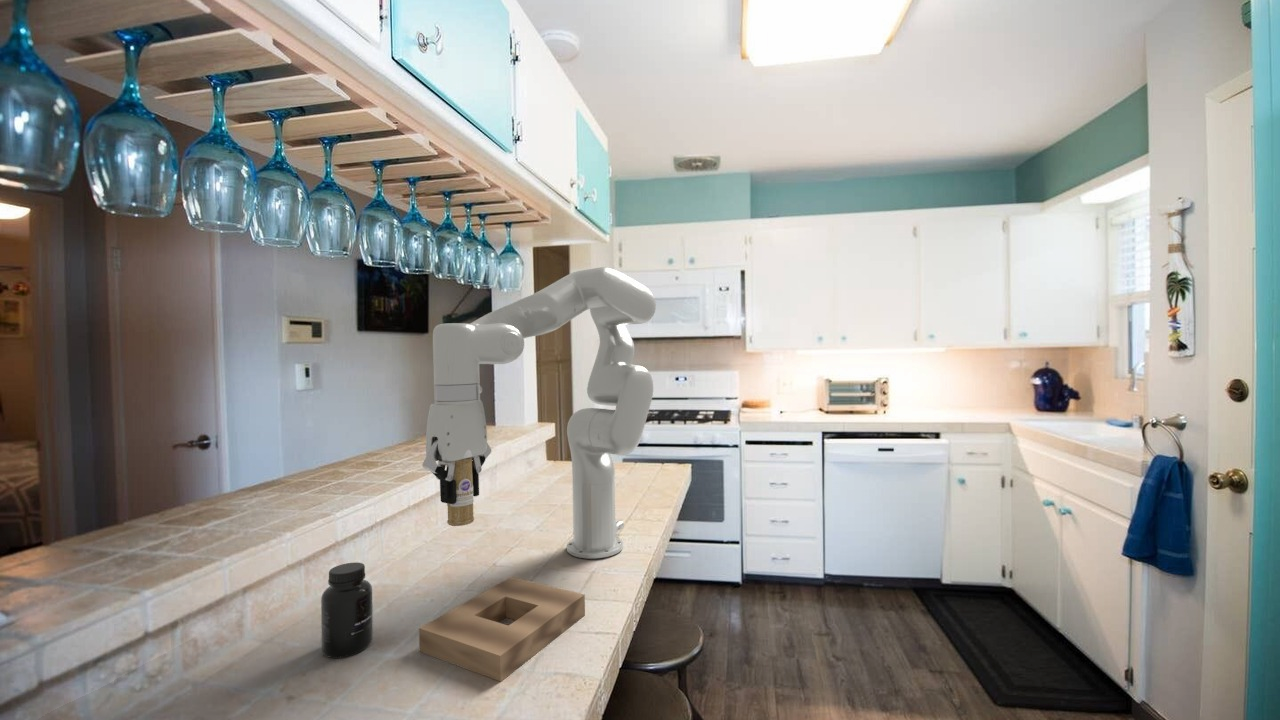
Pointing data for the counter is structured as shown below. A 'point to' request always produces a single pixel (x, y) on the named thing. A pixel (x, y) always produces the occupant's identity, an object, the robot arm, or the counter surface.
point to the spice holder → (502, 627)
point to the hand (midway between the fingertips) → (460, 497)
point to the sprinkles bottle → (462, 493)
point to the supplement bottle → (346, 611)
